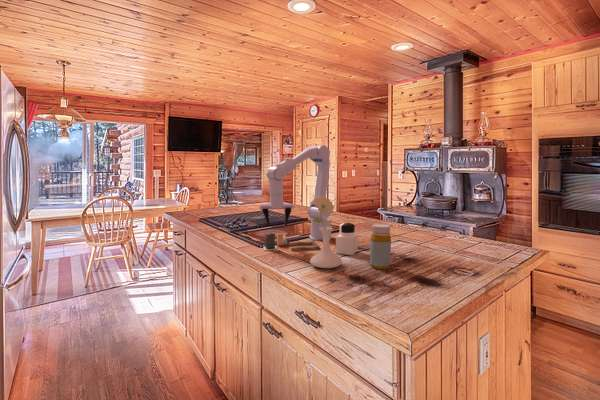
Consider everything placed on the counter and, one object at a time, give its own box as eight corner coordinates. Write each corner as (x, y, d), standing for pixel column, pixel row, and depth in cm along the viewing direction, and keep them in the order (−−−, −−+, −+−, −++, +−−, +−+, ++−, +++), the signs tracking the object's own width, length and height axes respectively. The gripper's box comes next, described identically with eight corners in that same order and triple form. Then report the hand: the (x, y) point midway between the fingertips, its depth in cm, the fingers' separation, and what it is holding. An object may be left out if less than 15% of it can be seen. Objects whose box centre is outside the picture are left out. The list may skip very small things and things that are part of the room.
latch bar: (284, 239, 160) (284, 229, 160) (287, 245, 150) (287, 234, 150) (275, 240, 160) (275, 229, 159) (277, 245, 150) (277, 234, 149)
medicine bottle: (357, 251, 141) (358, 222, 140) (352, 255, 135) (353, 225, 133) (341, 249, 144) (341, 221, 143) (335, 253, 138) (335, 224, 136)
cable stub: (276, 247, 147) (275, 233, 146) (273, 249, 143) (273, 235, 142) (267, 246, 148) (267, 232, 147) (264, 248, 144) (264, 235, 143)
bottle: (367, 264, 124) (368, 223, 122) (386, 263, 125) (387, 223, 123) (373, 270, 117) (374, 227, 115) (392, 269, 118) (394, 227, 116)
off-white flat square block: (276, 246, 149) (276, 245, 149) (277, 250, 143) (277, 249, 143) (263, 247, 148) (263, 246, 148) (264, 250, 142) (264, 250, 142)
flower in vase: (348, 267, 120) (349, 197, 117) (322, 273, 114) (323, 199, 111) (326, 258, 131) (326, 193, 128) (301, 263, 125) (301, 195, 122)
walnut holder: (314, 243, 154) (314, 241, 153) (319, 249, 144) (319, 246, 144) (288, 244, 152) (288, 242, 151) (291, 250, 142) (291, 248, 142)
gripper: (291, 193, 151) (292, 223, 153) (258, 194, 149) (259, 224, 151) (294, 194, 144) (294, 226, 146) (259, 195, 142) (260, 227, 144)
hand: (276, 225), depth 148 cm, fingers open, 7 cm apart
